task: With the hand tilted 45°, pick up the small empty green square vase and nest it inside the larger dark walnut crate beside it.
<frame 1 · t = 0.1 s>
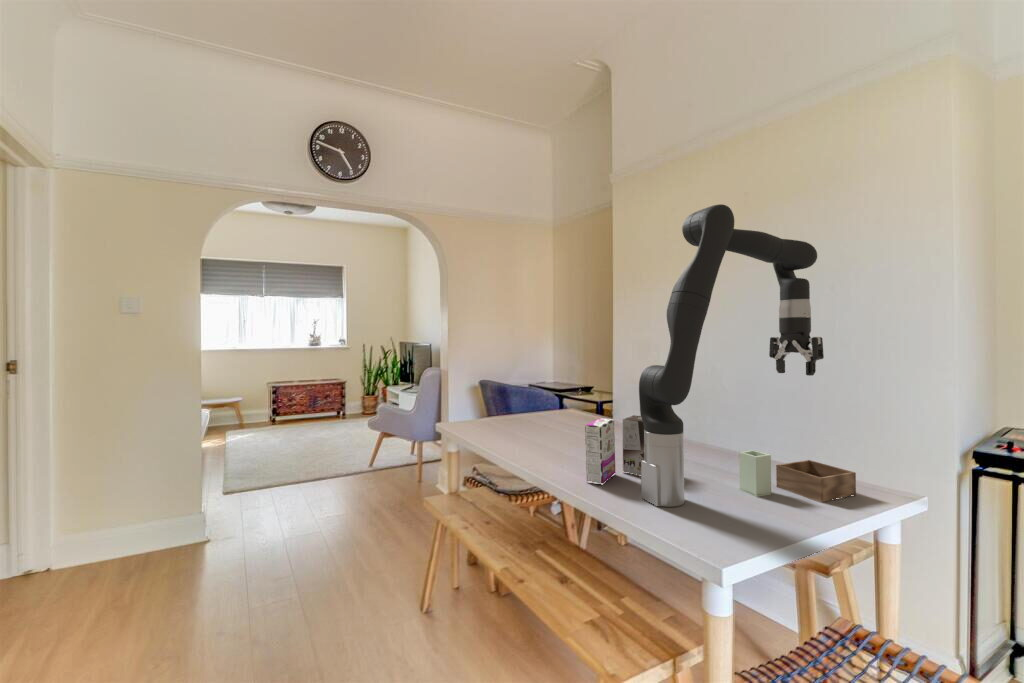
hand: (795, 374, 123), 29 cm above the table, tool pointing down, fingers open, 8 cm apart
green square vase: (755, 492, 113), on the table
walnut crate: (814, 491, 113), on the table
candy bar box: (601, 479, 125), on the table
coffee box: (638, 471, 132), on the table
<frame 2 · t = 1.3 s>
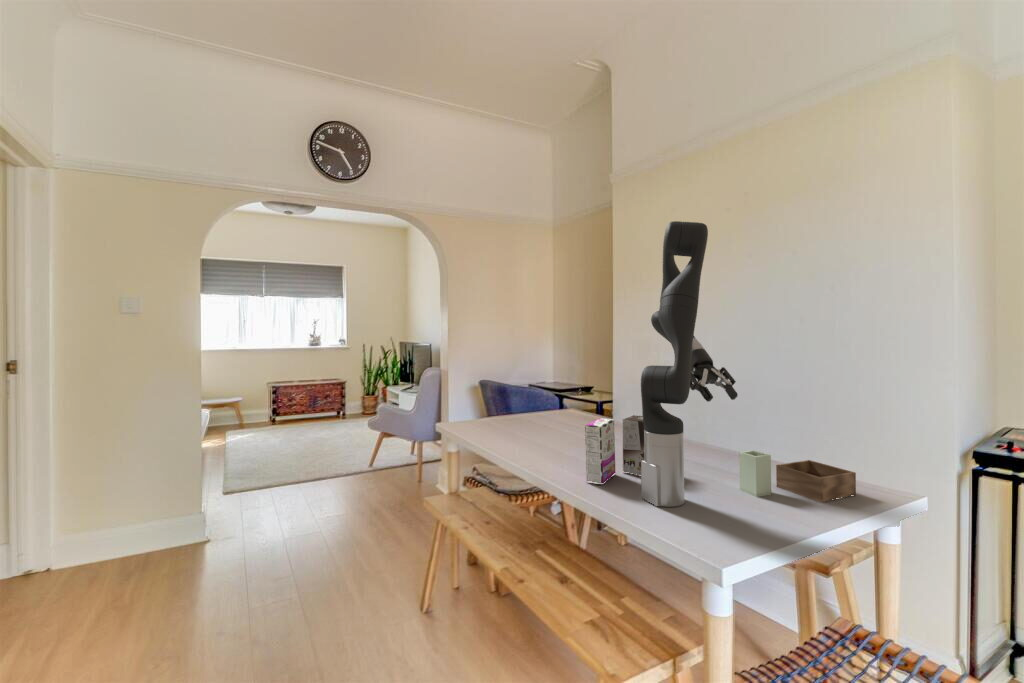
hand: (723, 398, 122), 23 cm above the table, tool tilted 45°, fingers open, 8 cm apart
nothing on the table moved.
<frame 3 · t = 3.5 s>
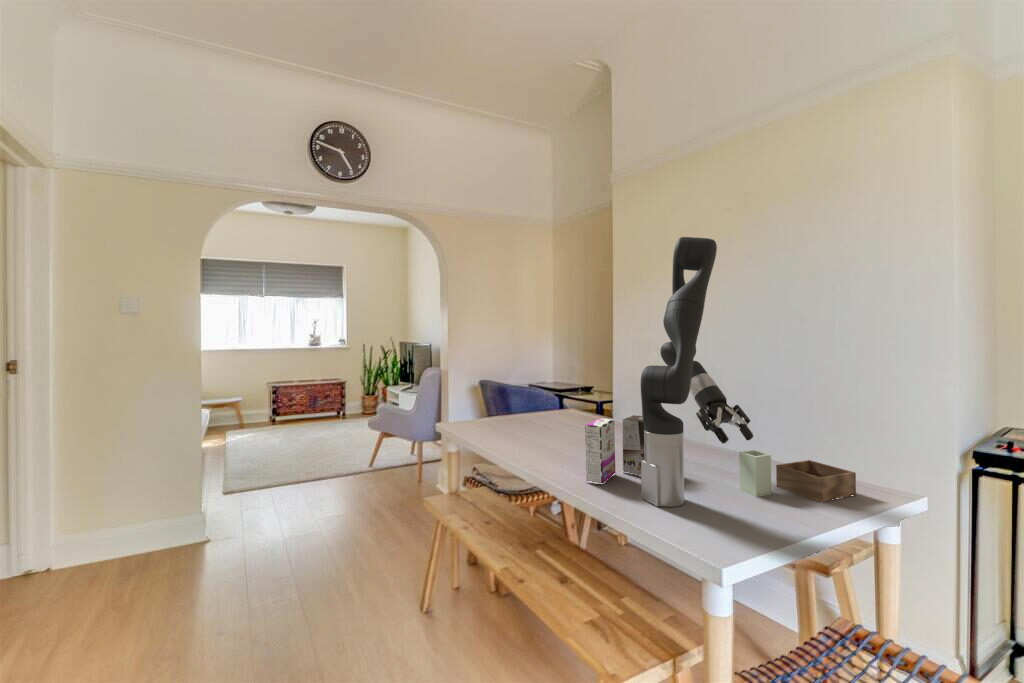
hand: (738, 440, 117), 12 cm above the table, tool tilted 45°, fingers open, 8 cm apart
nothing on the table moved.
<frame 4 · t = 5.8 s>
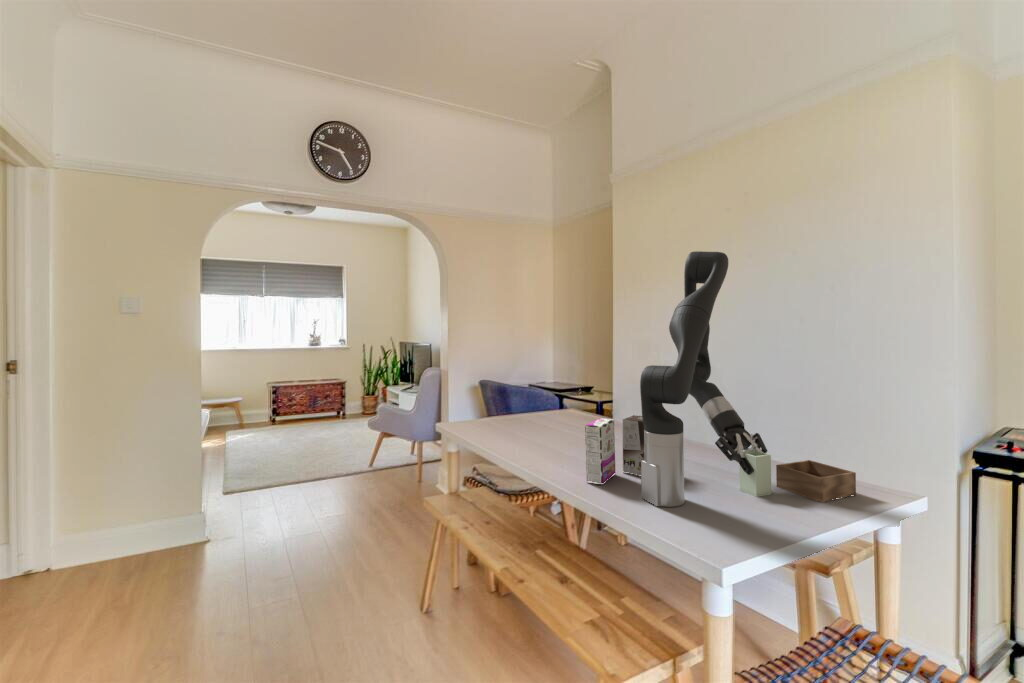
hand: (759, 471, 111), 6 cm above the table, tool tilted 45°, fingers closed on green square vase, 5 cm apart
green square vase: (755, 492, 113), on the table, touching gripper
everything else where it was.
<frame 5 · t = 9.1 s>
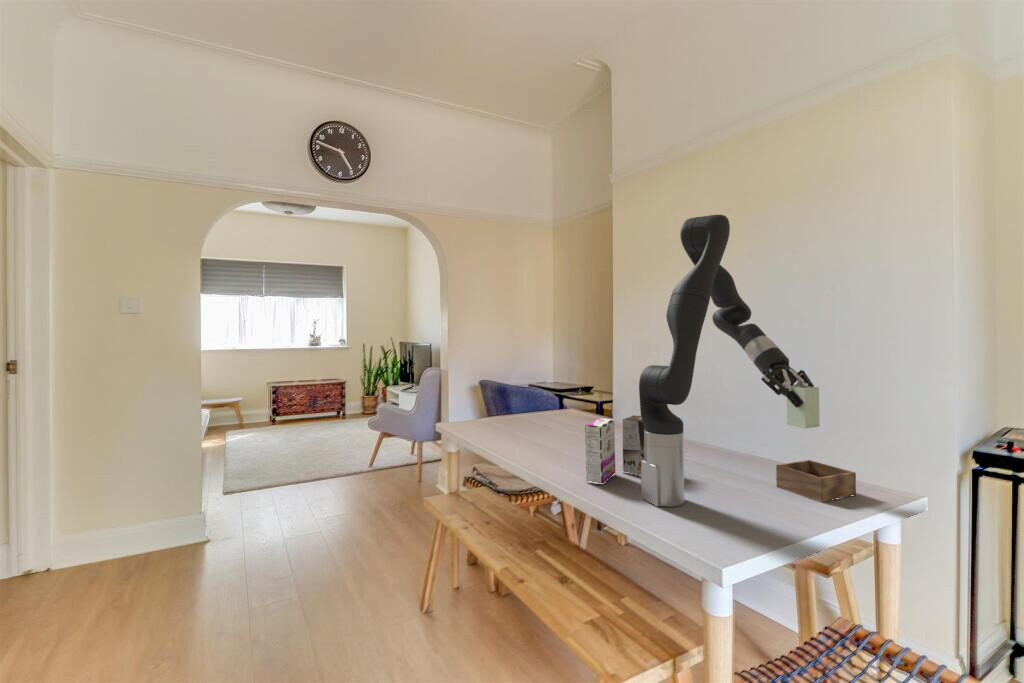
hand: (808, 404, 112), 22 cm above the table, tool tilted 45°, fingers closed on green square vase, 5 cm apart
green square vase: (803, 425, 113), point 17 cm above the table, touching gripper
everything else where it was.
when the fingers open (8 cm above the table, at t = 12.7 s): green square vase drops 1 cm, resting on walnut crate.
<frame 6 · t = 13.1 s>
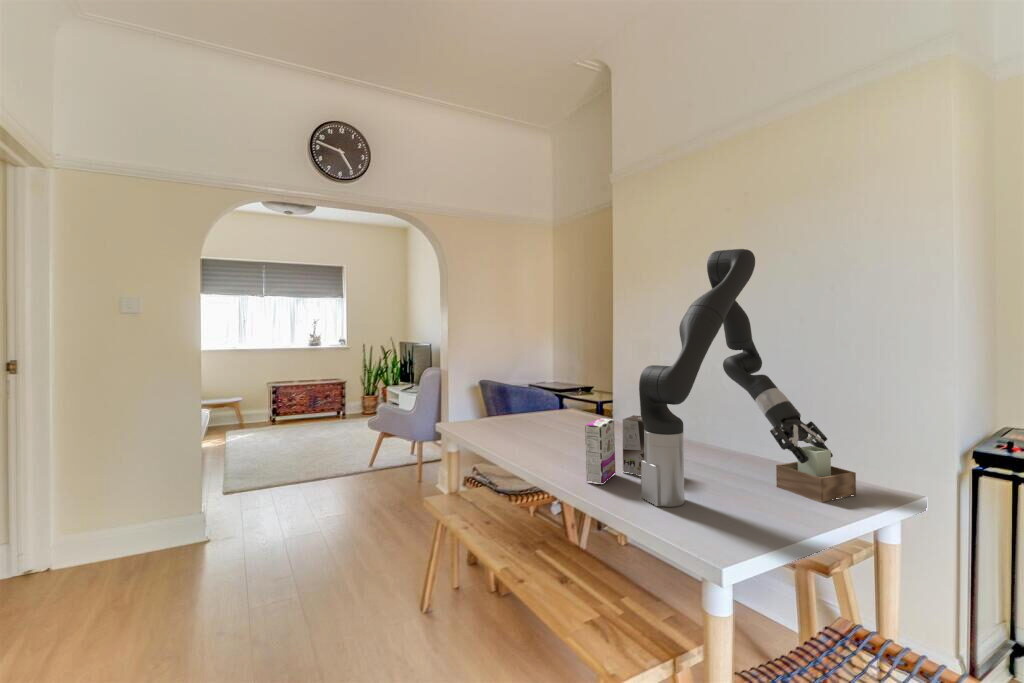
hand: (817, 459, 112), 8 cm above the table, tool tilted 45°, fingers open, 8 cm apart
green square vase: (814, 487, 113), point 1 cm above the table, touching walnut crate
everything else where it was.
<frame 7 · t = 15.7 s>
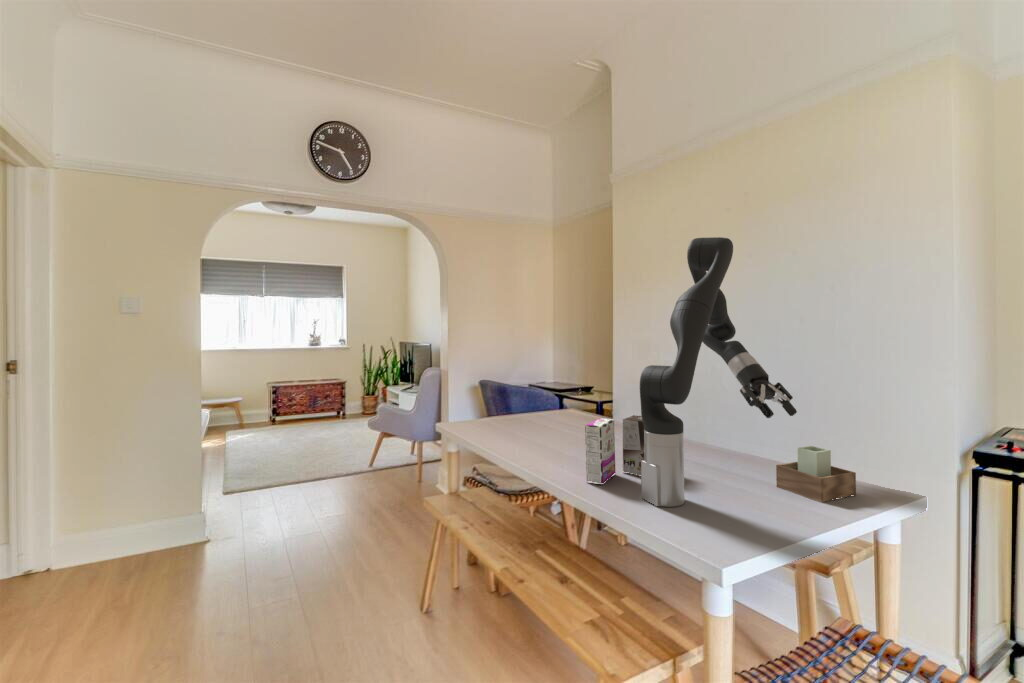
hand: (782, 415, 121), 18 cm above the table, tool tilted 45°, fingers open, 8 cm apart
nothing on the table moved.
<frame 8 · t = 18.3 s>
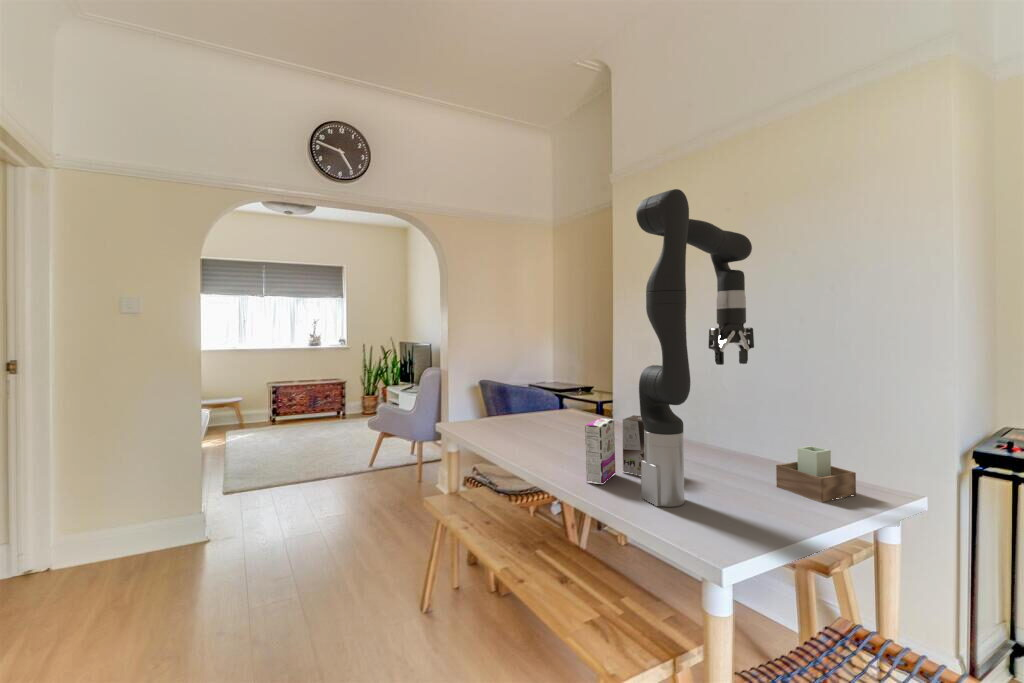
hand: (731, 364, 125), 32 cm above the table, tool pointing down, fingers open, 8 cm apart
nothing on the table moved.
at the end: green square vase 0.1 cm off-centre on the walnut crate, point 0.8 cm above the walnut crate's base; green square vase tilted 0°; the gripper is holding nothing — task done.
